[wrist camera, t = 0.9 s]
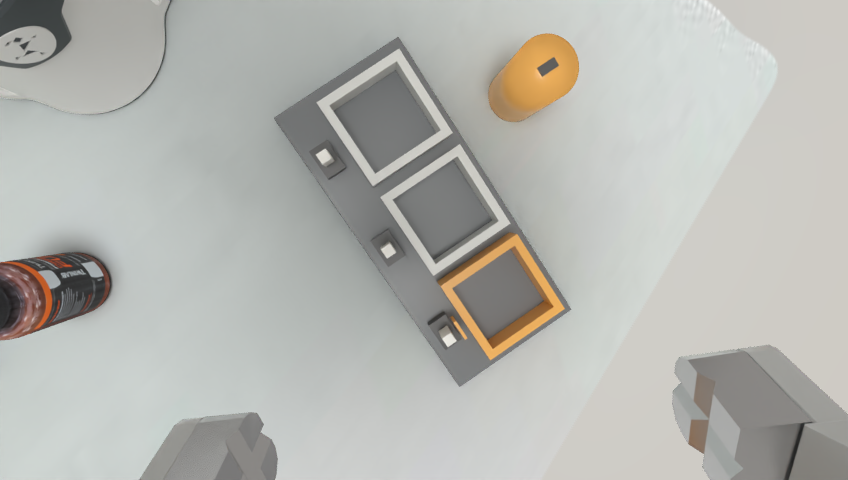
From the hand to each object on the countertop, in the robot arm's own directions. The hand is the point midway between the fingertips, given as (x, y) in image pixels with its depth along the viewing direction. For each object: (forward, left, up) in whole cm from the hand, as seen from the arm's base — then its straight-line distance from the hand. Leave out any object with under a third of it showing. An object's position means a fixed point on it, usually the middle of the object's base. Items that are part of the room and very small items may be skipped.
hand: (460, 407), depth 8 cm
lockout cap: (-6, +18, -35) cm, 40 cm away
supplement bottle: (-14, -27, -35) cm, 47 cm away
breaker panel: (0, +4, -35) cm, 36 cm away
